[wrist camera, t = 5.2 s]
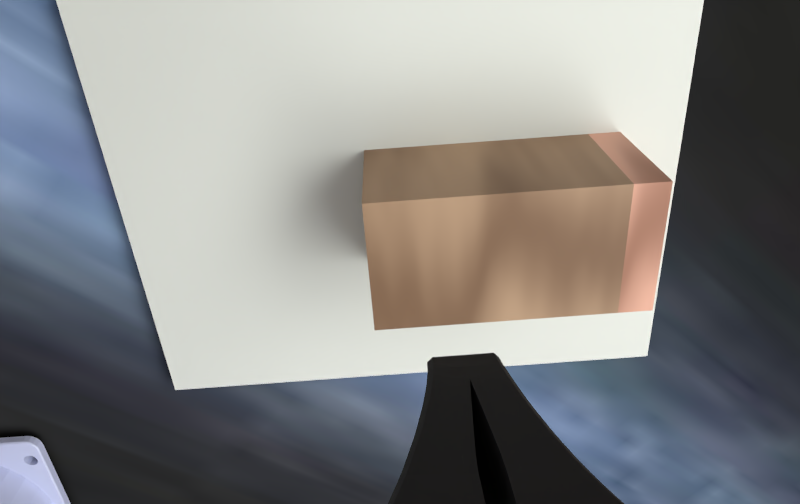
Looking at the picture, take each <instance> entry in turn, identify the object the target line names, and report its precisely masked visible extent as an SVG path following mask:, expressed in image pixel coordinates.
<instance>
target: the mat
mask: <svg viewBox="0 0 800 504" xmlns="http://www.w3.org/2000/svg"><path fill="white" fill-rule="evenodd" d="M56 2H57V6H58V9H59V12H60V15H61V19H62V22H63V25H64V28H65V32H66V35H67V38H68V42H69V45H70V48H71V51H72V55H73V58H74V61H75V64H76V68H77V71H78V74H79V77H80V81H81V84H82V87H83V90H84V94H85V97H86V100H87V104H88V107H89V110H90V113H91V117H92V120H93V123H94V126H95V130H96V133H97V136H98V139H99V143H100V146H101V149H102V152H103V156H104V159H105V162H106V166H107V169H108V172H109V175H110V179H111V182H112V185H113V188H114V192H115V195H116V198H117V201H118V205H119V208H120V211H121V215H122V218H123V221H124V224H125V228H126V231H127V234H128V237H129V241H130V244H131V247H132V250H133V254H134V257H135V260H136V263H137V267H138V270H139V273H140V277H141V280H142V283H143V286H144V290H145V293H146V296H147V299H148V303H149V306H150V309H151V312H152V316H153V319H154V322H155V325H156V329H157V332H158V335H159V339H160V342H161V345H162V348H163V352H164V355H165V358H166V361H167V365H168V368H169V371H170V374H171V378H172V381H173V384H174V387H175V390H182V389H196V388H210V387H224V386H238V385H252V384H266V383H280V382H293V381H307V380H321V379H335V378H349V377H363V376H377V375H391V374H404V373H418V372H428V370H427V362H428V361H429V360H430V359H431V358H432V357H441V356H455V355H469V354H482V353H495V354H496V355H497V356H498V357H499V358H500V360H501V362H502V363H503V365H504V366H515V365H529V364H543V363H557V362H571V361H585V360H599V359H612V358H626V357H640V356H647V354H648V347H649V341H650V335H651V328H652V322H653V316H654V310H655V303H656V297H657V291H658V285H659V278H660V272H661V266H662V259H663V253H664V247H665V241H666V234H667V228H668V222H669V216H670V209H671V203H672V197H673V190H674V184H675V178H676V172H677V165H678V159H679V153H680V147H681V140H682V134H683V128H684V121H685V115H686V109H687V103H688V96H689V90H690V84H691V78H692V71H693V65H694V59H695V53H696V46H697V40H698V34H699V27H700V21H701V15H702V9H703V2H704V0H56ZM609 132H621V133H622V134H623V135H624V136H625V137H626V138H627V139H628V140H629V141H631V142H632V143H633V144H634V145H635V146H636V147H637V148H638V149H639V150H640V151H641V152H642V153H643V154H644V155H645V156H646V157H648V158H649V159H650V160H651V161H652V162H653V163H654V164H655V165H656V166H657V167H658V168H659V169H660V170H661V171H662V172H664V173H665V174H666V175H667V176H668V177H669V178H670V179H671V180H672V181H673V184H672V190H671V197H670V203H669V209H668V216H667V222H666V228H665V235H664V241H663V247H662V254H661V260H660V266H659V273H658V279H657V285H656V292H655V298H654V304H653V310H651V311H637V312H623V313H609V314H595V315H581V316H568V317H554V318H540V319H526V320H512V321H498V322H484V323H470V324H457V325H443V326H429V327H415V328H401V329H387V330H374V320H373V310H372V300H371V290H370V280H369V270H368V261H367V251H366V241H365V231H364V221H363V211H362V186H363V163H364V150H373V149H387V148H401V147H415V146H429V145H442V144H456V143H470V142H484V141H498V140H512V139H526V138H540V137H554V136H567V135H581V134H595V133H609Z"/></svg>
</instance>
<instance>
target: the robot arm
mask: <svg viewBox="0 0 800 504" xmlns="http://www.w3.org/2000/svg"><path fill="white" fill-rule="evenodd" d="M427 370H428V375H427V386H426V392H425V397H424V402H423V407H422V411H421V415H420V418H419V422H418V426H417V430H416V433H415V436H414V440H413V442H412V445H411V448H410V451H409V454H408V457H407V459H406V462H405V465H404V468H403V470H402V473H401V475H400V478H399V480H398V483H397V485H396V487H395V490H394V492H393V494H392V496H391V498H390V501H389V503H388V504H624V503H623V502H622V501H620V500H619V499H618V498H617V497H616V496H615V495H614V494H613V493H612V492H610V491H609V490H608V489H607V488H606V487H605V486H604V485H603V484H602V483H601V482H600V481H599V480H598V479H597V478H596V477H595V476H594V475H593V474H592V473H591V472H590V471H589V470H588V469H587V468H586V467H585V466H584V465H583V464H582V463H581V462H580V461H579V460H578V459H577V458H576V457H575V456H574V455H573V454H572V453H571V451H570V450H569V449H568V448H567V447H566V446H565V445H564V444H563V443H562V442H561V441H560V439H559V438H558V437H557V436H556V435H555V434H554V432H553V431H552V430H551V429H550V428H549V426H548V425H547V424H546V423H545V421H544V420H543V419H542V418H541V417H540V415H539V414H538V413H537V412H536V410H535V409H534V408H533V407H532V405H531V404H530V403H529V401H528V400H527V399H526V397H525V396H524V395H523V393H522V392H521V390H520V389H519V388H518V386H517V385H516V383H515V382H514V380H513V379H512V377H511V376H510V374H509V373H508V371H507V370H506V368H505V367H504V365H503V363H502V362H501V360H500V358H499V357H498V356H497V355H496V354H495V353H482V354H469V355H455V356H441V357H432V358H431V359H430V360H429V361H428V362H427ZM0 504H71V503H70V501H69V499H68V497H67V495H66V492H65V490H64V488H63V486H62V484H61V482H60V479H59V477H58V475H57V473H56V471H55V469H54V467H53V464H52V462H51V460H50V458H49V456H48V454H47V451H46V449H45V447H44V445H43V443H42V442H41V441H40V440H39V439H38V438H36V437H33V436H18V437H4V438H0Z"/></svg>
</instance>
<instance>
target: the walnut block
mask: <svg viewBox="0 0 800 504" xmlns="http://www.w3.org/2000/svg"><path fill="white" fill-rule="evenodd" d="M672 184H673V181H672V180H671V179H670V178H669V177H668V176H667V175H666V174H665V173H664V172H662V171H661V170H660V169H659V168H658V167H657V166H656V165H655V164H654V163H653V162H652V161H651V160H650V159H649V158H648V157H646V156H645V155H644V154H643V153H642V152H641V151H640V150H639V149H638V148H637V147H636V146H635V145H634V144H633V143H632V142H631V141H629V140H628V139H627V138H626V137H625V136H624V135H623V134H622V133H621V132H609V133H595V134H581V135H567V136H554V137H540V138H526V139H512V140H498V141H484V142H470V143H456V144H442V145H429V146H415V147H401V148H387V149H373V150H364V163H363V186H362V211H363V221H364V231H365V241H366V251H367V261H368V270H369V280H370V290H371V300H372V310H373V320H374V330H387V329H401V328H415V327H429V326H443V325H457V324H470V323H484V322H498V321H512V320H526V319H540V318H554V317H568V316H581V315H595V314H609V313H623V312H637V311H651V310H653V304H654V298H655V292H656V285H657V279H658V273H659V266H660V260H661V254H662V247H663V241H664V235H665V228H666V222H667V216H668V209H669V203H670V197H671V190H672Z"/></svg>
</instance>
